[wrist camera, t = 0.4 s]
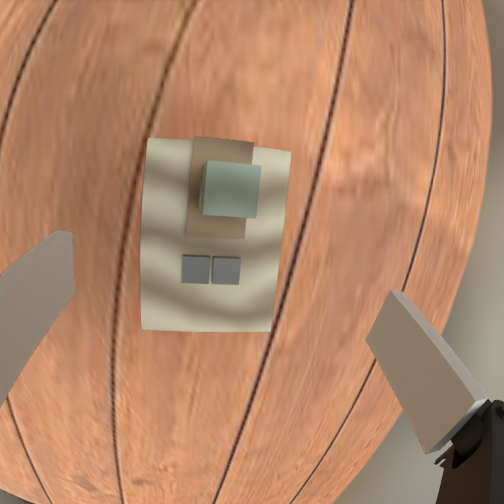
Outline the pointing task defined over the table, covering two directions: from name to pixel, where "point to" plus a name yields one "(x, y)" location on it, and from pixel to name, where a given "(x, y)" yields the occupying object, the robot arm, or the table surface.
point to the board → (207, 247)
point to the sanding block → (221, 188)
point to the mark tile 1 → (195, 269)
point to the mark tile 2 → (226, 270)
